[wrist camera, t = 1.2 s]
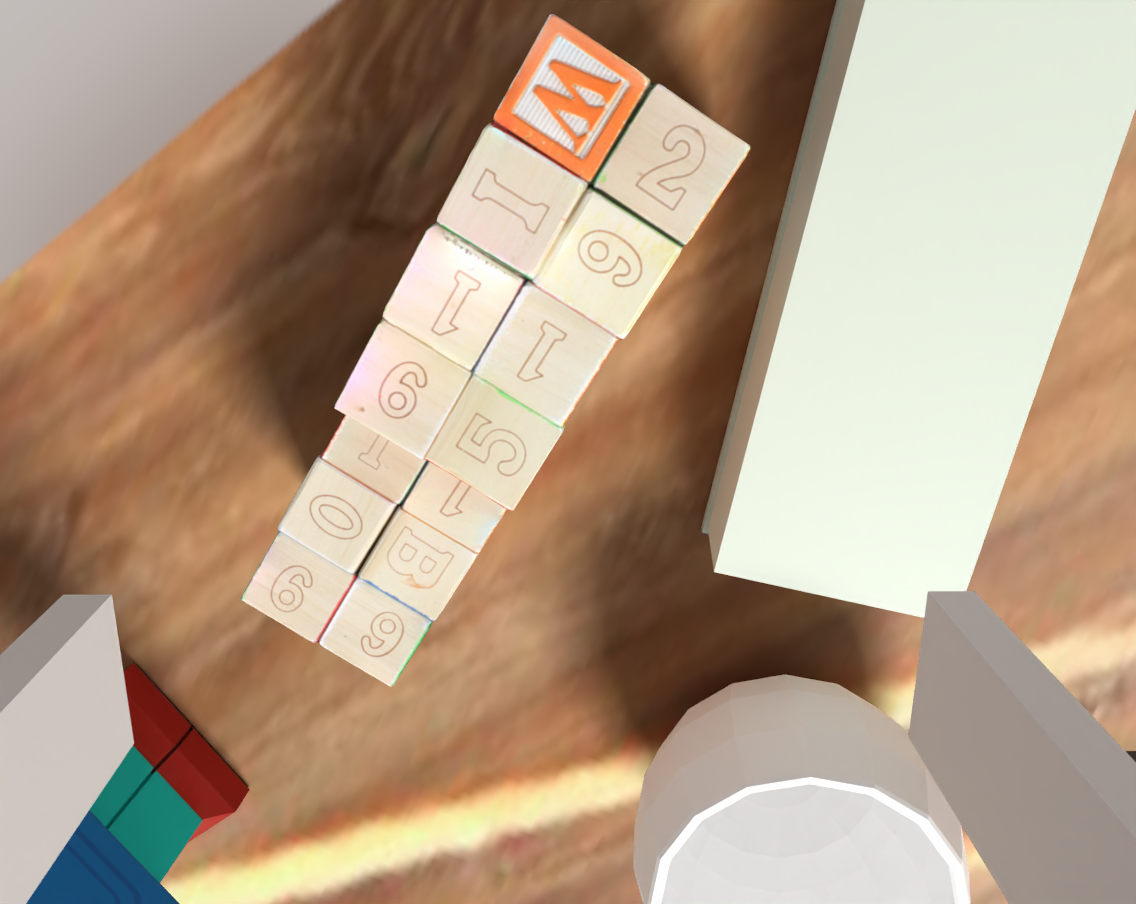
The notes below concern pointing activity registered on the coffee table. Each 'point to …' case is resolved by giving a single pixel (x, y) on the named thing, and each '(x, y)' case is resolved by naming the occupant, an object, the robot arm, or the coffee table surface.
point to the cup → (794, 805)
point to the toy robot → (144, 809)
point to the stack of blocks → (491, 344)
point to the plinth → (917, 289)
